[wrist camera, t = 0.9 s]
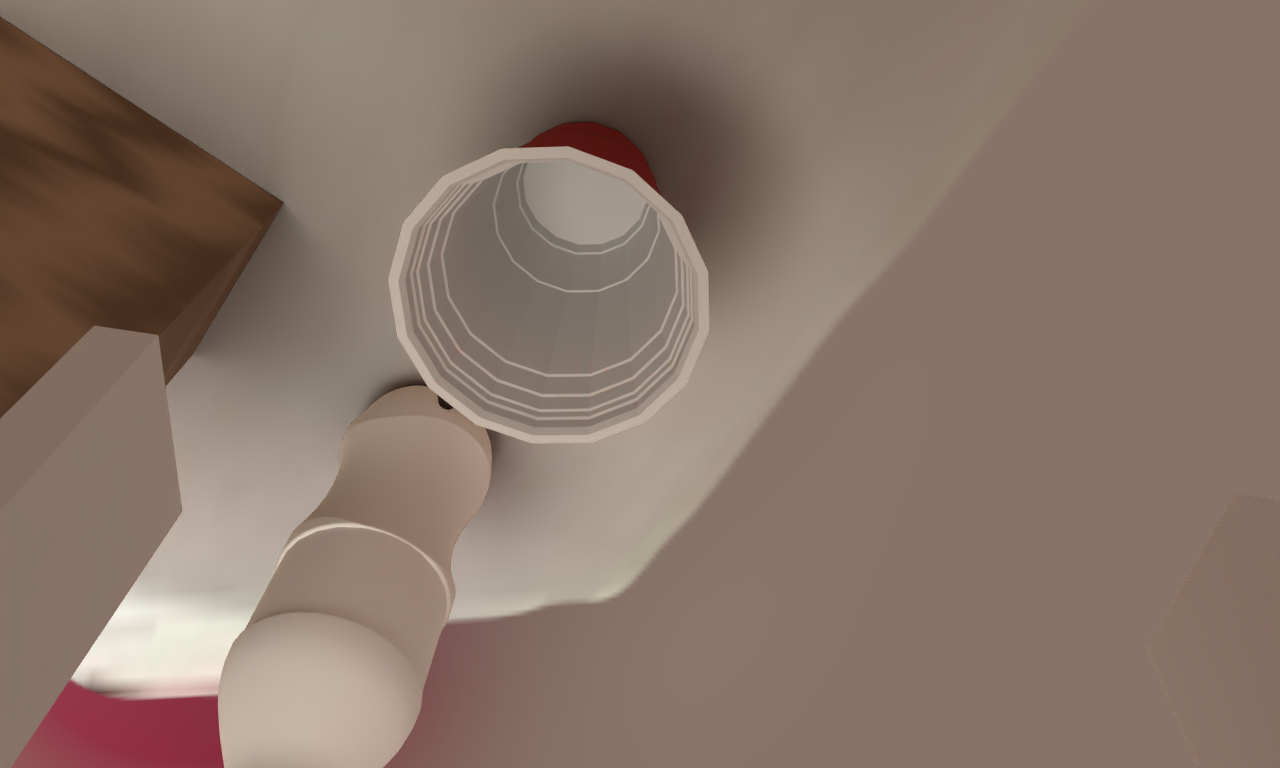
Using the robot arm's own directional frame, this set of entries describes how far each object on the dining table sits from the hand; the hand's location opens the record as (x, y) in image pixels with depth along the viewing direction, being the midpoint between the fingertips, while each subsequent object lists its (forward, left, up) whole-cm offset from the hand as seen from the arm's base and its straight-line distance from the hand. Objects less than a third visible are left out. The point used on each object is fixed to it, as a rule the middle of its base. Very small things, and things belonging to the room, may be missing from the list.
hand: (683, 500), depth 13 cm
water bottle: (+19, -16, -32) cm, 41 cm away
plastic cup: (+7, -6, -32) cm, 34 cm away
